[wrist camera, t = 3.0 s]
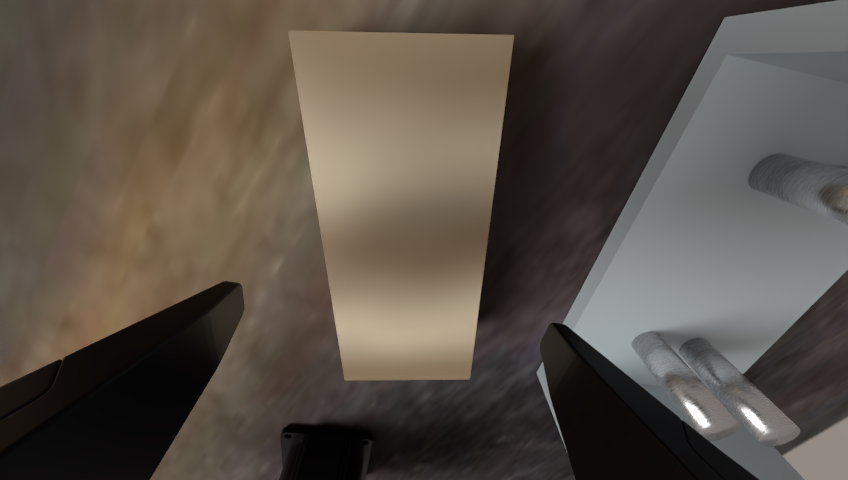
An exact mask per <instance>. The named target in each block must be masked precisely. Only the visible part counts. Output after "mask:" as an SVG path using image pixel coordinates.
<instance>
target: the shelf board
mask: <svg viewBox="0 0 848 480" xmlns="http://www.w3.org/2000/svg"><path fill="white" fill-rule="evenodd" d="M288 33H289V39H290V45H291V52H292V58H293V64H294V70H295V76H296V82H297V89H298V95H299V101H300V107H301V113H302V119H303V126H304V132H305V138H306V144H307V150H308V156H309V163H310V169H311V175H312V181H313V187H314V193H315V200H316V206H317V212H318V218H319V224H320V231H321V237H322V243H323V249H324V255H325V261H326V268H327V274H328V280H329V286H330V292H331V298H332V305H333V311H334V317H335V323H336V329H337V335H338V342H339V348H340V354H341V360H342V366H343V372H344V379H345V380H457V379H470V374H471V366H472V358H473V351H474V343H475V335H476V327H477V320H478V312H479V304H480V296H481V289H482V281H483V273H484V265H485V258H486V250H487V242H488V234H489V227H490V219H491V211H492V203H493V196H494V188H495V180H496V173H497V165H498V157H499V149H500V142H501V134H502V126H503V118H504V111H505V103H506V95H507V87H508V80H509V72H510V64H511V56H512V49H513V41H514V35H490V34H439V33H388V32H337V31H288Z"/></svg>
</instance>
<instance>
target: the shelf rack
mask: <svg viewBox="0 0 848 480" xmlns="http://www.w3.org/2000/svg"><path fill="white" fill-rule="evenodd" d="M847 270H848V0H838V1H831V2H824V3H817V4H811V5H804V6H797V7H790V8H784V9H777V10H770V11H763V12H757V13H750V14H743V15H736V16H730V17H724V19H723V21H722V23H721V25H720V27H719V29H718V31H717V33H716V34H715V36H714V38H713V40H712V42H711V44H710V46H709V48H708V50H707V52H706V53H705V55H704V57H703V59H702V61H701V63H700V65H699V67H698V69H697V70H696V72H695V74H694V76H693V78H692V80H691V82H690V84H689V86H688V87H687V89H686V91H685V93H684V95H683V97H682V99H681V101H680V103H679V104H678V106H677V108H676V110H675V112H674V114H673V116H672V118H671V120H670V122H669V123H668V125H667V127H666V129H665V131H664V133H663V135H662V137H661V139H660V140H659V142H658V144H657V146H656V148H655V150H654V152H653V154H652V156H651V157H650V159H649V161H648V163H647V165H646V167H645V169H644V171H643V173H642V174H641V176H640V178H639V180H638V182H637V184H636V186H635V188H634V190H633V191H632V193H631V195H630V197H629V199H628V201H627V203H626V205H625V207H624V209H623V210H622V212H621V214H620V216H619V218H618V220H617V222H616V224H615V226H614V227H613V229H612V231H611V233H610V235H609V237H608V239H607V241H606V243H605V244H604V246H603V248H602V250H601V252H600V254H599V256H598V258H597V260H596V261H595V263H594V265H593V267H592V269H591V271H590V273H589V275H588V277H587V279H586V280H585V282H584V284H583V286H582V288H581V290H580V292H579V294H578V296H577V297H576V299H575V301H574V303H573V305H572V307H571V309H570V311H569V313H568V314H567V316H566V318H565V320H564V322H563V324H564V325H566V326H568V327H569V328H570V329H571V330H573V331H574V332H575V333H576V334H577V335H579V336H580V337H581V338H582V339H584V340H585V341H586V342H587V343H589V344H590V345H591V346H592V347H593V348H595V349H596V350H597V351H598V352H600V353H601V354H602V355H603V356H605V357H606V358H607V359H608V360H609V361H611V362H612V363H613V364H614V365H616V366H617V367H618V368H619V369H621V370H622V371H623V372H624V373H625V374H627V375H628V376H629V377H630V378H632V379H633V380H634V381H635V382H637V383H638V384H639V385H640V386H642V387H643V388H644V389H645V390H646V391H648V392H649V393H650V394H651V395H653V396H654V397H655V398H656V399H658V400H659V401H660V402H661V403H662V404H664V405H665V406H666V407H667V408H669V409H670V410H671V411H672V412H674V413H675V414H676V415H677V416H678V417H680V419H681V420H683V421H685V422H686V423H687V424H688V425H690V426H691V427H692V428H693V429H695V430H696V431H697V432H698V433H699V434H701V435H702V436H703V437H704V438H706V439H707V440H708V441H710V442H711V443H712V444H713V445H715V446H716V447H717V448H718V449H720V450H721V451H722V452H723V453H725V454H726V455H727V456H729V457H730V458H731V459H733V460H734V461H735V462H737V463H738V464H739V465H741V466H742V467H743V468H745V469H746V470H747V471H749V472H750V473H751V474H753V475H754V476H755V477H757V478H758V479H759V480H804V479H803V478H802V477H801V476H800V475H799V473H798V472H797V471H796V470H795V469H794V468H793V467H792V466H791V465H790V464H789V463H788V462H787V461H786V459H785V458H784V457H783V456H782V455H781V454H780V453H779V452H778V451H777V450H776V449H775V448H774V447H773V446H778V445H782V444H785V443H787V442H789V441H791V440H793V439H794V438H796V437H797V436H798V435H799V433H800V429H799V428H798V427H797V426H796V425H795V424H794V423H793V422H792V421H791V420H790V419H789V418H788V417H787V416H786V415H785V414H784V413H783V412H782V411H781V410H780V409H779V408H778V407H777V406H775V405H774V404H773V403H772V402H771V401H770V400H769V399H768V398H767V397H766V396H765V395H764V394H763V393H762V392H761V391H760V390H759V389H758V388H757V387H756V386H755V385H753V384H752V383H751V382H750V381H749V380H748V379H747V378H746V377H745V376H744V375H743V374H744V373H745V372H746V371H747V370H748V369H749V368H750V367H751V366H752V365H753V364H754V363H755V362H756V361H757V360H758V359H759V358H760V357H761V356H762V355H763V354H764V353H765V352H766V351H767V350H768V349H769V348H770V347H771V346H772V345H773V344H774V343H775V342H776V341H777V340H778V339H779V338H780V337H781V336H782V335H783V334H784V333H785V332H786V331H787V330H788V329H789V328H790V327H791V326H792V325H793V324H794V323H795V322H796V321H797V320H798V319H799V318H800V317H801V316H802V315H803V314H804V313H805V312H806V311H807V310H808V309H809V308H810V307H811V306H812V305H813V304H814V303H815V302H816V301H817V300H818V299H819V298H820V297H821V296H822V295H823V294H824V293H825V292H826V291H827V290H828V289H829V288H830V287H831V286H832V285H833V284H834V283H835V282H836V281H837V280H838V279H839V278H840V277H841V276H842V275H843V274H844V273H845V272H846V271H847ZM537 375H538V378H539V381H540V383H541V386H542V388H543V391H544V394H545V396H546V399H547V401H548V404H549V407H550V409H551V412H552V414H553V417H554V420H555V422H556V425H557V427H558V430H559V432H560V435H561V438H562V440H563V437H562V434H561V431H560V428H559V424H558V421H557V418H556V415H555V412H554V408H553V405H552V402H551V398H550V394H549V390H548V385H547V380H546V375H545V370H544V365H543V362H542V364H541V366H540V367H539V369H538V371H537ZM563 443H564V440H563ZM564 445H565V444H564ZM565 448H566V447H565ZM566 451H567V450H566Z"/></svg>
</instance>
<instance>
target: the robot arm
mask: <svg viewBox="0 0 848 480" xmlns="http://www.w3.org/2000/svg"><path fill="white" fill-rule="evenodd" d="M243 312H244V299H243V291H242V286H241V284H240V283H236V282H228V281H224V282H221V283H219V284H217V285H215V286H213V287H211V288H209V289H206V290H204V291H202V292H200V293H198V294H196V295H194V296H192V297H190V298H188V299H185V300H183V301H181V302H179V303H177V304H175V305H173V306H171V307H169V308H166V309H164V310H162V311H160V312H158V313H156V314H154V315H152V316H150V317H148V318H145V319H143V320H141V321H139V322H137V323H135V324H133V325H131V326H129V327H127V328H124V329H122V330H120V331H118V332H116V333H114V334H112V335H110V336H108V337H106V338H103V339H101V340H99V341H97V342H95V343H93V344H91V345H89V346H87V347H84V348H82V349H80V350H78V351H76V352H74V353H72V354H70V355H68V356H65V357H64V358H63V360H57V361H55V362H53V363H51V364H48V365H46V366H44V367H42V368H40V369H38V370H36V371H34V372H32V373H29V374H27V375H25V376H23V377H21V378H18V379H16V380H14V381H12V382H10V383H8V384H5V385H3V386H1V387H0V480H150V478H151V477H152V475H153V473H154V472H155V470H156V468H157V467H158V465H159V463H160V462H161V460H162V458H163V457H164V455H165V453H166V452H167V450H168V448H169V447H170V445H171V444H172V442H173V440H174V439H175V437H176V435H177V434H178V432H179V430H180V429H181V427H182V425H183V424H184V422H185V420H186V419H187V417H188V415H189V414H190V412H191V411H192V409H193V407H194V406H195V404H196V402H197V401H198V399H199V397H200V396H201V394H202V392H203V391H204V389H205V387H206V386H207V384H208V382H209V381H210V379H211V378H212V376H213V374H214V373H215V371H216V369H217V367H218V366H219V364H220V362H221V360H222V358H223V356H224V353H225V351H226V349H227V347H228V345H229V343H230V340H231V338H232V336H233V334H234V332H235V330H236V328H237V325H238V323H239V321H240V319H241V317H242V315H243ZM540 351H541V356H542V361H543V365H544V370H545V375H546V380H547V385H548V390H549V394H550V398H551V402H552V405H553V408H554V412H555V415H556V418H557V421H558V424H559V428H560V431H561V434H562V437H563V440H564V444H565V447H566V450H567V453H568V456H569V460H570V463H571V466H572V469H573V472H574V475H575V479H576V480H759V479H758V478H757V477H755V476H754V475H753V474H751V473H750V472H749V471H747V470H746V469H745V468H743V467H742V466H741V465H739V464H738V463H737V462H735V461H734V460H733V459H731V458H730V457H729V456H727V455H726V454H725V453H723V452H722V451H721V450H720V449H718V448H717V447H716V446H715V445H713V444H712V443H711V442H710V441H708V440H707V439H706V438H704V437H703V436H702V435H701V434H699V433H698V432H697V431H696V430H695V429H693V428H692V427H691V426H690V425H688V424H687V423H686V422H685V421H683V420H681V419H680V417H678V416H677V415H676V414H675V413H674V412H672V411H671V410H670V409H669V408H667V407H666V406H665V405H664V404H662V403H661V402H660V401H659V400H658V399H656V398H655V397H654V396H653V395H651V394H650V393H649V392H648V391H646V390H645V389H644V388H643V387H642V386H640V385H639V384H638V383H637V382H635V381H634V380H633V379H632V378H630V377H629V376H628V375H627V374H625V373H624V372H623V371H622V370H621V369H619V368H618V367H617V366H616V365H614V364H613V363H612V362H611V361H609V360H608V359H607V358H606V357H605V356H603V355H602V354H601V353H600V352H598V351H597V350H596V349H595V348H593V347H592V346H591V345H590V344H589V343H587V342H586V341H585V340H584V339H582V338H581V337H580V336H579V335H577V334H576V333H575V332H574V331H573V330H571V329H570V328H569V327H568V326H566V325H564V324H559V323H551V324H550V325H549V326H548V328H547V330H546V332H545V334H544V336H543V338H542V340H541V343H540ZM372 442H373V436H372V435H371V434H368V433H357V432H346V431H334V430H322V429H310V428H298V427H285V428H284V429H283V431H282V434H281V448H282V464H283V470H282V473H281V476H280V479H279V480H366V475H367V469H368V464H369V459H370V453H371V448H372Z"/></svg>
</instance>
